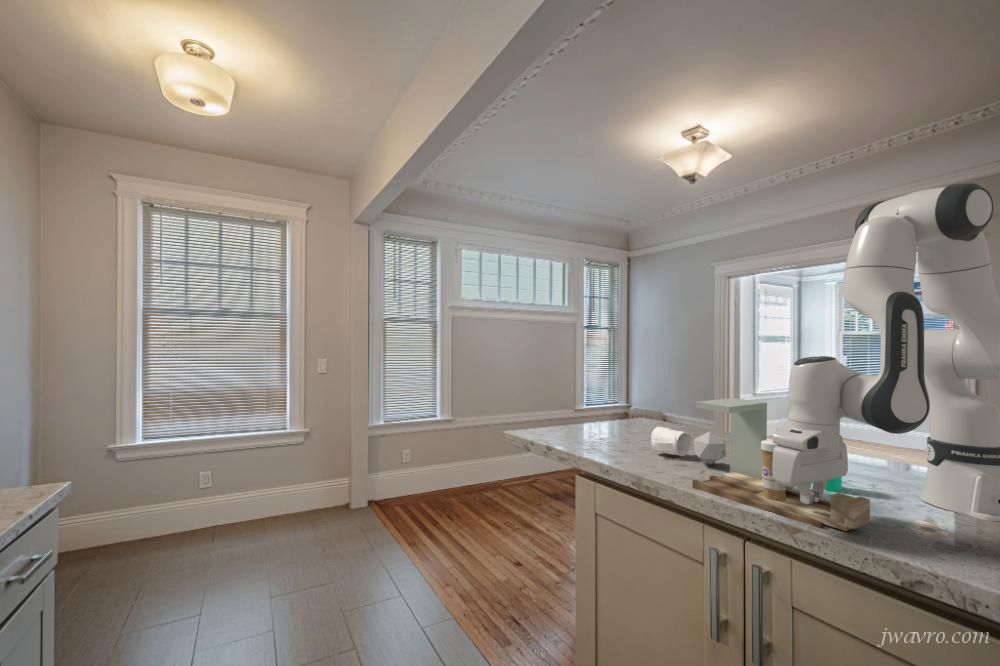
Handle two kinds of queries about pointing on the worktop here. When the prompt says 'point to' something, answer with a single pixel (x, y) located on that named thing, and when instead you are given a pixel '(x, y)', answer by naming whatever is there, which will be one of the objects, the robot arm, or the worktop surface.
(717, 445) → the die
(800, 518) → the lane board
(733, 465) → the shelf
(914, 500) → the worktop surface
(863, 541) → the worktop surface
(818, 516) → the bottle strip
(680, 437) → the mug
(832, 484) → the candle
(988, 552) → the worktop surface
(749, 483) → the wooden slider block
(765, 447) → the sprinkles bottle
